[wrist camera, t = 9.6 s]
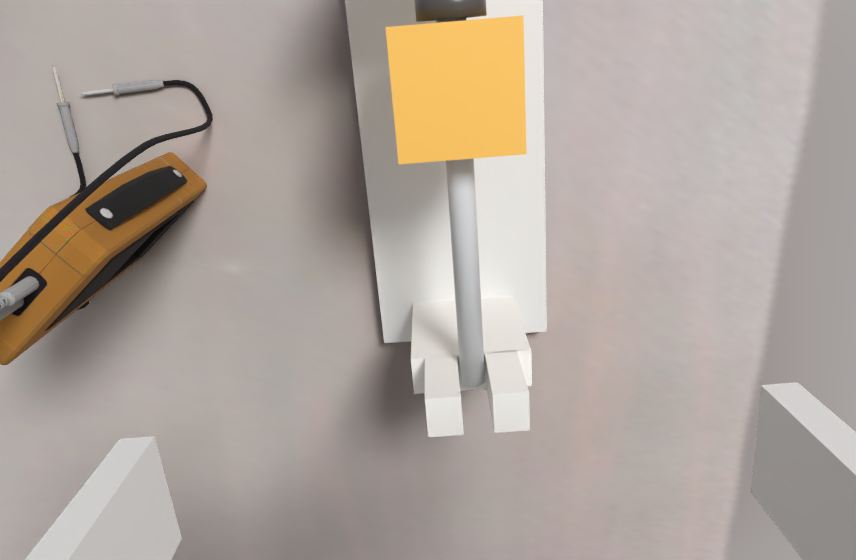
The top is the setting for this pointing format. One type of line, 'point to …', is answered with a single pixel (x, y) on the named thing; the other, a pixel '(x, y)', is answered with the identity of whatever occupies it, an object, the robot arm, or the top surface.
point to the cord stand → (455, 229)
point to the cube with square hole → (458, 89)
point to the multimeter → (91, 232)
